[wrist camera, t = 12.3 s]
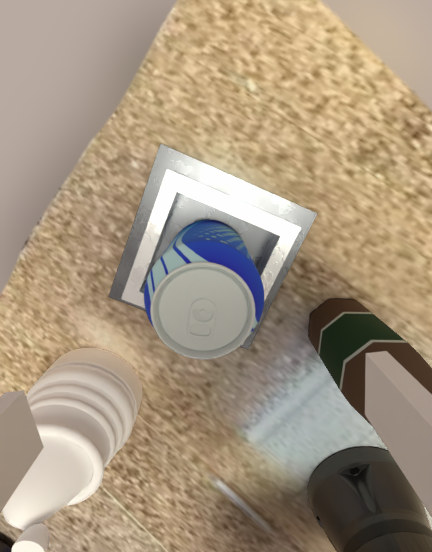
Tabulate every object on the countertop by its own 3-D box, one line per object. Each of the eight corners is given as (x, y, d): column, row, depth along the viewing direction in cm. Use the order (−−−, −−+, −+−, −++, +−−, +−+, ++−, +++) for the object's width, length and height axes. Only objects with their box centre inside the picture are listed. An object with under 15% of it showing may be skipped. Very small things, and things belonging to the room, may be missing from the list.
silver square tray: (247, 345, 39) (251, 365, 34) (111, 293, 37) (97, 308, 32) (314, 212, 34) (328, 216, 30) (162, 144, 32) (153, 138, 28)
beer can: (155, 253, 34) (107, 309, 19) (211, 201, 33) (207, 217, 17) (206, 305, 36) (199, 394, 21) (261, 258, 34) (297, 318, 19)
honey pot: (161, 383, 40) (121, 531, 23) (109, 444, 43) (39, 616, 26) (77, 328, 38) (-37, 448, 21) (28, 396, 41) (-108, 551, 24)
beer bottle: (297, 308, 37) (429, 507, 14) (359, 285, 36) (606, 459, 13) (315, 360, 39) (455, 606, 16) (374, 340, 39) (609, 570, 16)
